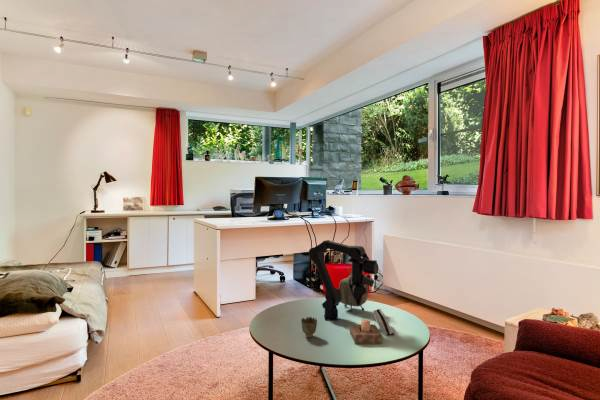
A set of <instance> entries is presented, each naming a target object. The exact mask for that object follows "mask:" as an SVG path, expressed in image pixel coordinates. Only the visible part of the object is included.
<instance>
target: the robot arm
mask: <svg viewBox="0 0 600 400" xmlns="http://www.w3.org/2000/svg"><path fill="white" fill-rule="evenodd" d="M327 250H332V251H336V252H338V253H342V254H345V255H346V256H348V257H350V258H349V259H348V260H347V262H348V263H351V267H352V268H351V271H350V272H351V274H350V275H351V278H349V279H348V283H349V287H350V289H351V292H352V295H353V298H354V299H355V300H356V303H357V305H359V304H360V301H361V297H362V295H364V294H365V293H366V291H367V292H368V288H367V289H366V288H365V287H364V284H366V285H367V286H369V287H371V288H372V287H373V286H374V283H375V280H374V279H373V278H371V275H374V276H375V275H378V273H379V269H380V267H379V263H378V260H377V259H376V260H375V259H370V258H369V256H368V254H367V253H366V250H365V247H364V246H362V245H347V244H344V243H339V242H337V241H336V242H335V241H332V240H328V239H327V240H323V241H322V242H320V243H319V244H318V245H316V246H315V247H311V248H309V250H308V256H309V258H310V260H311V261H312V263H313V264H314V265H316V269H317V271H318V274H319V276H320V279H321V282H322V285H323V287H324V290H325V292H324V293H325V294H324V297H325V301H324V302H322V304H321V306H322V308H323V309H324V310H323V311H324V312H323V313H324V314H323V318H324V320H325V321H338V318H339V310H338V306H339V304H340V303H341V300H342V297H341V296H342V295H341V293H340V290H339V288H336V287H335V286H334V283H333V281H332V277H331V276H330V273H329V270H328V267H327V264H326V261H325V252H326V251H327ZM364 273H365V274H364ZM370 274H371V275H370Z"/></svg>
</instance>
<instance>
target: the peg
mask: <svg viewBox="0 0 600 400" xmlns="http://www.w3.org/2000/svg"><path fill="white" fill-rule="evenodd" d="M360 325H361V332H370V325H371V321H370V320H369V319H366V318H365V319H361V322H360Z"/></svg>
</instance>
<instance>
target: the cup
mask: <svg viewBox="0 0 600 400" xmlns="http://www.w3.org/2000/svg"><path fill="white" fill-rule="evenodd" d="M300 321H301V329H302V333H303V334H304V336H305V337H306V338H308V339H311V338H312V337H313V336H314V334H315V333H316V330H317V326H318V319H317V317H316V318H315V317H312V316H309V317H308V316H307V317H306V318H305V317H303V318H301V320H300Z"/></svg>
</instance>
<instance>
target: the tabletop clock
mask: <svg viewBox="0 0 600 400" xmlns="http://www.w3.org/2000/svg"><path fill="white" fill-rule="evenodd" d="M349 269H352V266H349V267H347V273H349V274H350V275H348V277H346V278H343V279H341V280H340V282H339V285H338V286H339V287H338V289H339V290H340V293H341V295H342V296H341V297H342V300H341V302H340V303H341V304H343V305H344V307H345V308H347V307H348V306H350V308H349V312H353V307H360V308H361V311H362V312H363V311H365V308H364V307H363V306H362V305H364V304H365V303H366V302H367V300H368V285H366V284H364V287H365V288H366V289H367V291H366V293H365V294H364V295H362V297H361V301H360V304H359V305H357V303H356V300H355V299H354V298H353V295H352V292H351V289H350V287H349V283H348V279H349V278H351V272H352V271H349Z"/></svg>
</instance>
